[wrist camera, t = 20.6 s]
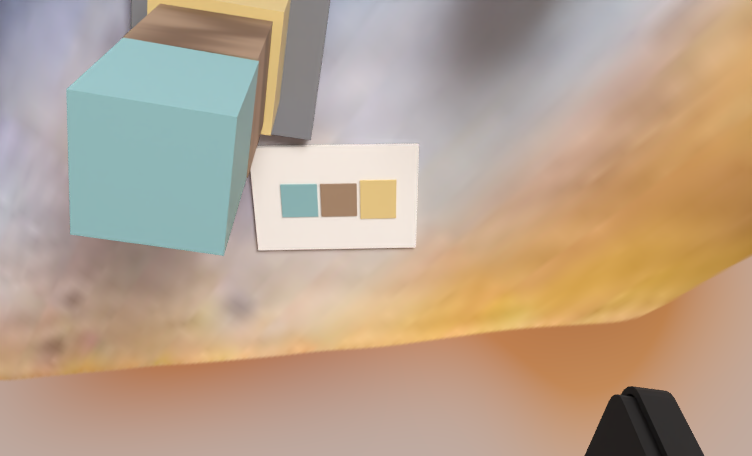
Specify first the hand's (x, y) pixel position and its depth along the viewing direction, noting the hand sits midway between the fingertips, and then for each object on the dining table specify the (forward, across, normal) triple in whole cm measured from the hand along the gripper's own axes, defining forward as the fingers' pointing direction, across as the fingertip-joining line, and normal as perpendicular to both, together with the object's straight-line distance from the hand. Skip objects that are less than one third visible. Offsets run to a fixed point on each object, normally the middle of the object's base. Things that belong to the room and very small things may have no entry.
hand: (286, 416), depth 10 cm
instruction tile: (+31, -1, +12) cm, 33 cm away
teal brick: (+18, +6, +3) cm, 20 cm away
